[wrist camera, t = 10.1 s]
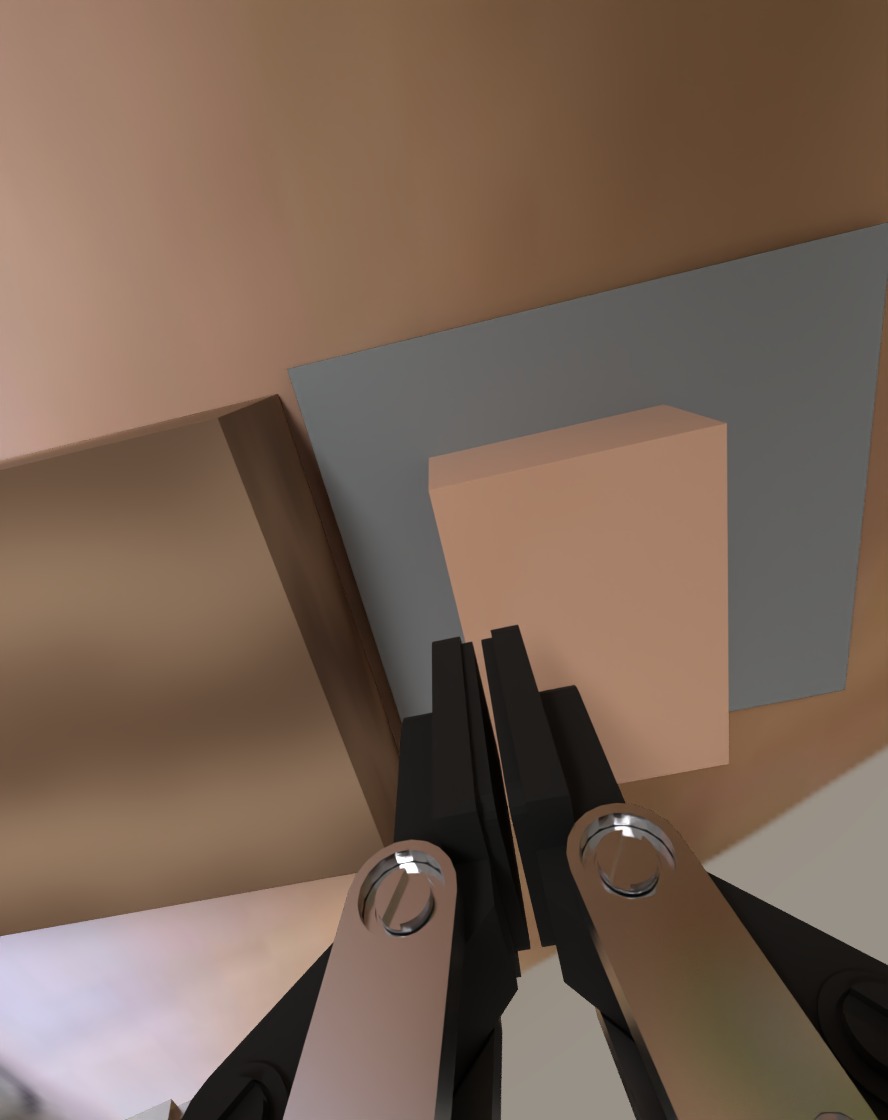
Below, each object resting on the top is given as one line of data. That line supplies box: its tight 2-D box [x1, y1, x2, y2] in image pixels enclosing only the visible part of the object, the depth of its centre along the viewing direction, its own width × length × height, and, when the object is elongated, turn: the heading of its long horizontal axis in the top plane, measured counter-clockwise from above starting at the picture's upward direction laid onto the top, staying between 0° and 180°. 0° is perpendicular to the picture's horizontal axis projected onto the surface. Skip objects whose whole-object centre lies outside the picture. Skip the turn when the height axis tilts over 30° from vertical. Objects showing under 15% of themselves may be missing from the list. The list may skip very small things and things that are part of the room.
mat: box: [287, 222, 888, 722], centre depth 15 cm, size 13×14×1 cm
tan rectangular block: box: [428, 404, 729, 804], centre depth 14 cm, size 9×6×3 cm, turn 13°
